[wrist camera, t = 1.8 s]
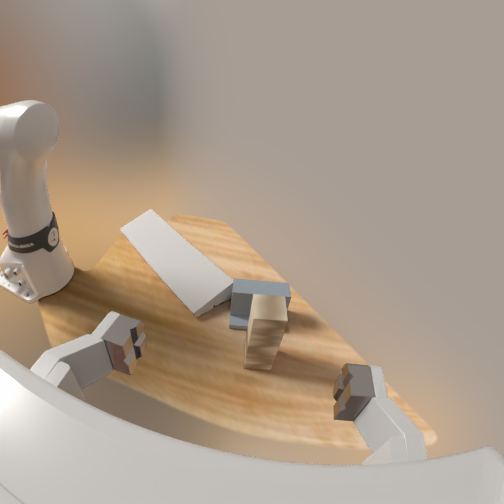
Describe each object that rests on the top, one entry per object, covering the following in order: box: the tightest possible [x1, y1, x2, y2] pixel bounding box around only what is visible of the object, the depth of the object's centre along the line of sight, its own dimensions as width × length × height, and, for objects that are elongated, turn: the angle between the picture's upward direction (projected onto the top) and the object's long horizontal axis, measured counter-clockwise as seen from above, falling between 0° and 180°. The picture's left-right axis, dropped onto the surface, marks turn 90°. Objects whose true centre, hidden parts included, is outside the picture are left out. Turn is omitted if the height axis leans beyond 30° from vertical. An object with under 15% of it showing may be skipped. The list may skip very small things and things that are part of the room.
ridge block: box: [229, 278, 291, 330], centre depth 52 cm, size 10×8×7 cm
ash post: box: [244, 294, 288, 370], centre depth 42 cm, size 4×4×13 cm
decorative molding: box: [120, 209, 234, 317], centre depth 63 cm, size 34×5×10 cm
